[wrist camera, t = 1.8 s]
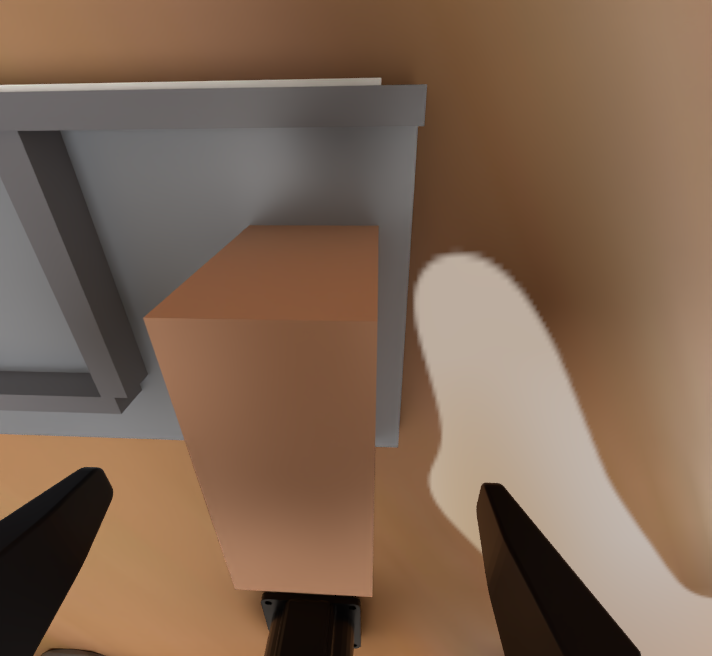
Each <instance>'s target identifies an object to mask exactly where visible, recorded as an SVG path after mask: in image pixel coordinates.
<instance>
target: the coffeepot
mask: <svg viewBox="0 0 712 656" xmlns="http://www.w3.org/2000/svg"><path fill="white" fill-rule="evenodd" d="M42 656H104V655H101V654H97V653H93V652H88V651H82V650H74V649H57V650H51V651H47V652H45V653H43V654H42Z"/></svg>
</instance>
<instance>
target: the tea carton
mask: <svg viewBox="0 0 712 656" xmlns="http://www.w3.org/2000/svg"><path fill="white" fill-rule="evenodd" d="M378 237H379V226H336V225H249V226H248V227H247V228H246V229H244V230H243V231H242V232H241V233H240V234H239V235H237V236H236V237H235V238H234V239H233V240H232V241H231V242H229V243H228V244H227V245H226V246H225V247H224V248H223V249H221V250H220V251H219V252H218V253H217V254H216V255H215V256H213V257H212V258H211V259H210V260H209V261H208V262H207V263H205V264H204V265H203V266H202V267H201V268H200V269H198V270H197V271H196V272H195V273H194V274H193V275H192V276H190V277H189V278H188V279H187V280H186V281H185V282H184V283H182V284H181V285H180V286H179V287H178V288H177V289H176V290H174V291H173V292H172V293H171V294H170V295H169V296H168V297H166V298H165V299H164V300H163V301H162V302H161V303H159V304H158V305H157V306H156V307H155V308H154V309H153V310H151V311H150V312H149V313H148V314H147V315H146V316H145V317H143V319H144V322H145V325H146V328H147V331H148V334H149V337H150V340H151V343H152V346H153V348H154V351H155V354H156V357H157V360H158V363H159V366H160V369H161V372H162V375H163V378H164V381H165V384H166V387H167V390H168V393H169V396H170V399H171V402H172V405H173V408H174V411H175V413H176V416H177V419H178V422H179V425H180V428H181V431H182V434H183V437H184V440H185V443H186V446H187V449H188V452H189V455H190V458H191V461H192V464H193V467H194V470H195V473H196V476H197V479H198V481H199V484H200V487H201V490H202V493H203V496H204V499H205V502H206V505H207V508H208V511H209V514H210V517H211V520H212V523H213V526H214V529H215V532H216V535H217V538H218V541H219V544H220V546H221V549H222V552H223V555H224V558H225V561H226V564H227V567H228V570H229V573H230V576H231V579H232V582H233V585H234V588H235V589H239V590H257V591H275V592H293V593H311V594H328V595H346V596H364V597H372V588H373V535H374V482H375V429H376V376H377V322H378Z"/></svg>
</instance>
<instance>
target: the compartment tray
mask: <svg viewBox="0 0 712 656" xmlns="http://www.w3.org/2000/svg"><path fill="white" fill-rule="evenodd" d="M426 94H427V84H421V85H381V78H340V79H288V80H236V81H183V82H131V83H79V84H27V85H0V434H20V435H50V436H79V437H108V438H137V439H167V440H184V437H183V434H182V431H181V428H180V425H179V422H178V419H177V416H176V413H175V411H174V408H173V405H172V402H171V399H170V396H169V393H168V390H167V387H166V384H165V381H164V378H163V375H162V372H161V369H160V366H159V363H158V360H157V357H156V354H155V351H154V348H153V346H152V343H151V340H150V337H149V334H148V331H147V328H146V325H145V322H144V319H143V317H145V316H146V315H147V314H148V313H149V312H150V311H151V310H153V309H154V308H155V307H156V306H157V305H158V304H159V303H161V302H162V301H163V300H164V299H165V298H166V297H168V296H169V295H170V294H171V293H172V292H173V291H174V290H176V289H177V288H178V287H179V286H180V285H181V284H182V283H184V282H185V281H186V280H187V279H188V278H189V277H190V276H192V275H193V274H194V273H195V272H196V271H197V270H198V269H200V268H201V267H202V266H203V265H204V264H205V263H207V262H208V261H209V260H210V259H211V258H212V257H213V256H215V255H216V254H217V253H218V252H219V251H220V250H221V249H223V248H224V247H225V246H226V245H227V244H228V243H229V242H231V241H232V240H233V239H234V238H235V237H236V236H237V235H239V234H240V233H241V232H242V231H243V230H244V229H246V228H247V227H248V226H249V225H336V226H379V237H378V322H377V376H376V429H375V447H398V439H399V423H400V407H401V391H402V375H403V359H404V343H405V327H406V310H407V294H408V278H409V262H410V246H411V230H412V214H413V198H414V182H415V166H416V150H417V134H418V126H424V122H425V108H426Z"/></svg>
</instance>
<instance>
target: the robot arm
mask: <svg viewBox="0 0 712 656" xmlns="http://www.w3.org/2000/svg"><path fill="white" fill-rule="evenodd" d="M112 497H113V488H112V486H111V484H110V482H109V480H108V479H107V477H106V475H105V473H104V471H103V470H102V469H101V468H97V467H84V468H81V469H79V470H77V471H76V472H74V473H72V474H71V475H69V476H68V477H66V478H65V479H63V480H62V481H60V482H59V483H57V484H56V485H54V486H53V487H51V488H50V489H48V490H47V491H45V492H43V493H42V494H40V495H39V496H37V497H36V498H34V499H33V500H31V501H30V502H28V503H27V504H25V505H24V506H22V507H21V508H19V509H17V510H16V511H14V512H13V513H11V514H10V515H8V516H7V517H5V518H4V519H2V520H1V521H0V656H33V655H34V653H35V651H36V650H37V648H38V646H39V644H40V642H41V640H42V639H43V637H44V635H45V633H46V631H47V630H48V628H49V626H50V624H51V622H52V620H53V619H54V617H55V615H56V613H57V611H58V610H59V608H60V606H61V604H62V602H63V600H64V599H65V597H66V595H67V593H68V591H69V590H70V588H71V586H72V584H73V582H74V580H75V579H76V577H77V575H78V573H79V571H80V569H81V567H82V565H83V563H84V561H85V559H86V557H87V555H88V552H89V550H90V548H91V546H92V543H93V541H94V539H95V537H96V534H97V532H98V530H99V528H100V525H101V523H102V521H103V519H104V516H105V514H106V512H107V510H108V507H109V505H110V503H111V500H112ZM477 520H478V526H479V533H480V540H481V546H482V553H483V560H484V567H485V573H486V580H487V586H488V591H489V595H490V599H491V603H492V607H493V611H494V615H495V619H496V623H497V627H498V631H499V635H500V639H501V643H502V647H503V651H504V655H505V656H641V654H640V651H639V650H638V649H637V647H636V646H635V645H634V644H633V642H632V641H631V640H630V639H629V638H628V636H627V635H626V634H625V633H624V632H623V630H622V629H621V628H620V627H619V626H618V624H617V623H616V622H615V621H614V619H613V618H612V617H611V616H610V615H609V613H608V612H607V611H606V610H605V609H604V607H603V606H602V605H601V604H600V602H599V601H598V600H597V599H596V598H595V596H594V595H593V594H592V593H591V592H590V591H589V589H588V588H587V587H586V586H585V584H584V583H583V582H582V581H581V580H580V578H579V577H578V576H577V575H576V573H575V572H574V571H573V570H572V569H571V567H570V566H569V565H568V564H567V563H566V562H565V560H564V559H563V558H562V557H561V555H560V554H559V553H558V552H557V550H556V549H555V548H554V547H553V546H552V544H550V542H549V541H548V539H547V538H546V537H545V536H544V535H543V534H542V532H541V531H540V530H539V529H538V528H537V526H536V525H535V524H534V523H533V521H532V520H531V519H530V518H529V516H528V515H527V514H526V513H525V512H524V511H523V509H522V508H521V507H520V506H519V504H518V503H517V502H516V501H515V500H514V498H513V497H512V496H511V495H510V494H509V492H508V491H507V490H506V489H505V487H504V486H503V485H501V484H499V483H483V484H482V486H481V490H480V494H479V498H478V502H477ZM261 604H262V608H263V612H264V615H265V619H266V622H267V626H268V629H269V636H268V640H267V645H266V650H265V654H264V656H353V649H354V648H359V647H360V646H361V608H360V600H359V599H358V598H356V597H343V596H325V595H307V594H290V593H272V592H266V593H264V594H263V596H262V600H261Z"/></svg>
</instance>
